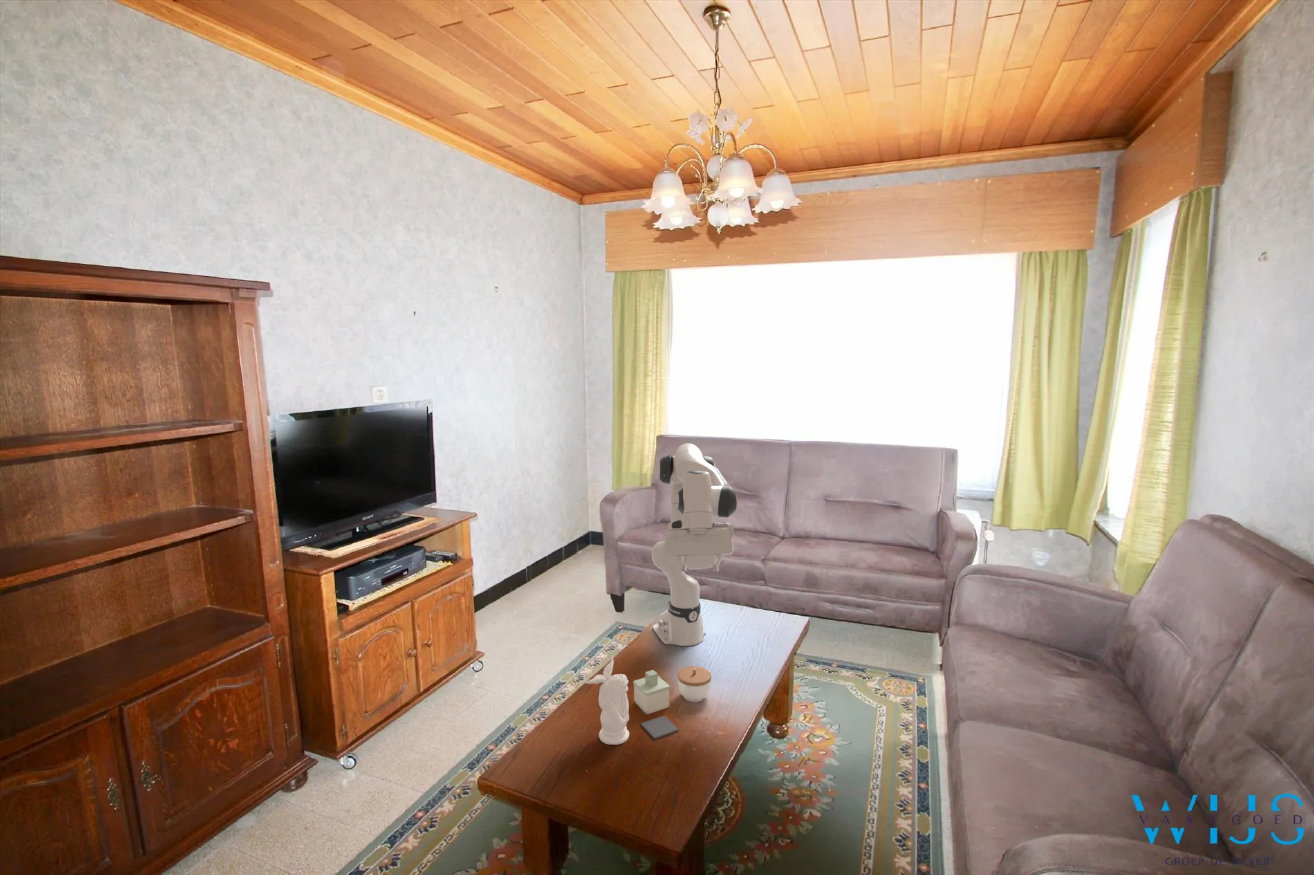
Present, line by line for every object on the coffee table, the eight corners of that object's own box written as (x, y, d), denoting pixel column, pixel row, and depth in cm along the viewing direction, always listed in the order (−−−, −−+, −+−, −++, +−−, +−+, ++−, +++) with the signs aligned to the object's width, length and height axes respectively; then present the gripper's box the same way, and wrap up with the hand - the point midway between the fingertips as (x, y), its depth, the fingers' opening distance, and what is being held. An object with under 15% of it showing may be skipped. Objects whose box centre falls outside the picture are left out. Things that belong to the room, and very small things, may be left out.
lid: (633, 683, 192) (633, 670, 192) (656, 677, 197) (656, 663, 196) (646, 696, 185) (646, 682, 185) (669, 689, 189) (670, 675, 189)
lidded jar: (708, 708, 190) (709, 679, 188) (674, 704, 192) (674, 676, 191) (712, 690, 200) (713, 663, 199) (680, 686, 202) (680, 659, 201)
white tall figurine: (631, 747, 171) (631, 673, 168) (586, 751, 169) (585, 677, 166) (626, 721, 183) (626, 652, 179) (584, 725, 181) (583, 655, 178)
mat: (641, 725, 181) (641, 723, 181) (664, 717, 185) (664, 715, 185) (654, 739, 174) (654, 737, 174) (678, 731, 178) (678, 729, 178)
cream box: (634, 701, 193) (634, 684, 192) (656, 695, 197) (656, 677, 196) (646, 714, 186) (646, 696, 185) (669, 707, 190) (669, 689, 189)
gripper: (734, 523, 182) (736, 571, 179) (667, 526, 187) (668, 572, 183) (732, 521, 176) (733, 570, 173) (663, 523, 181) (663, 571, 177)
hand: (699, 571), depth 178 cm, fingers open, 8 cm apart
